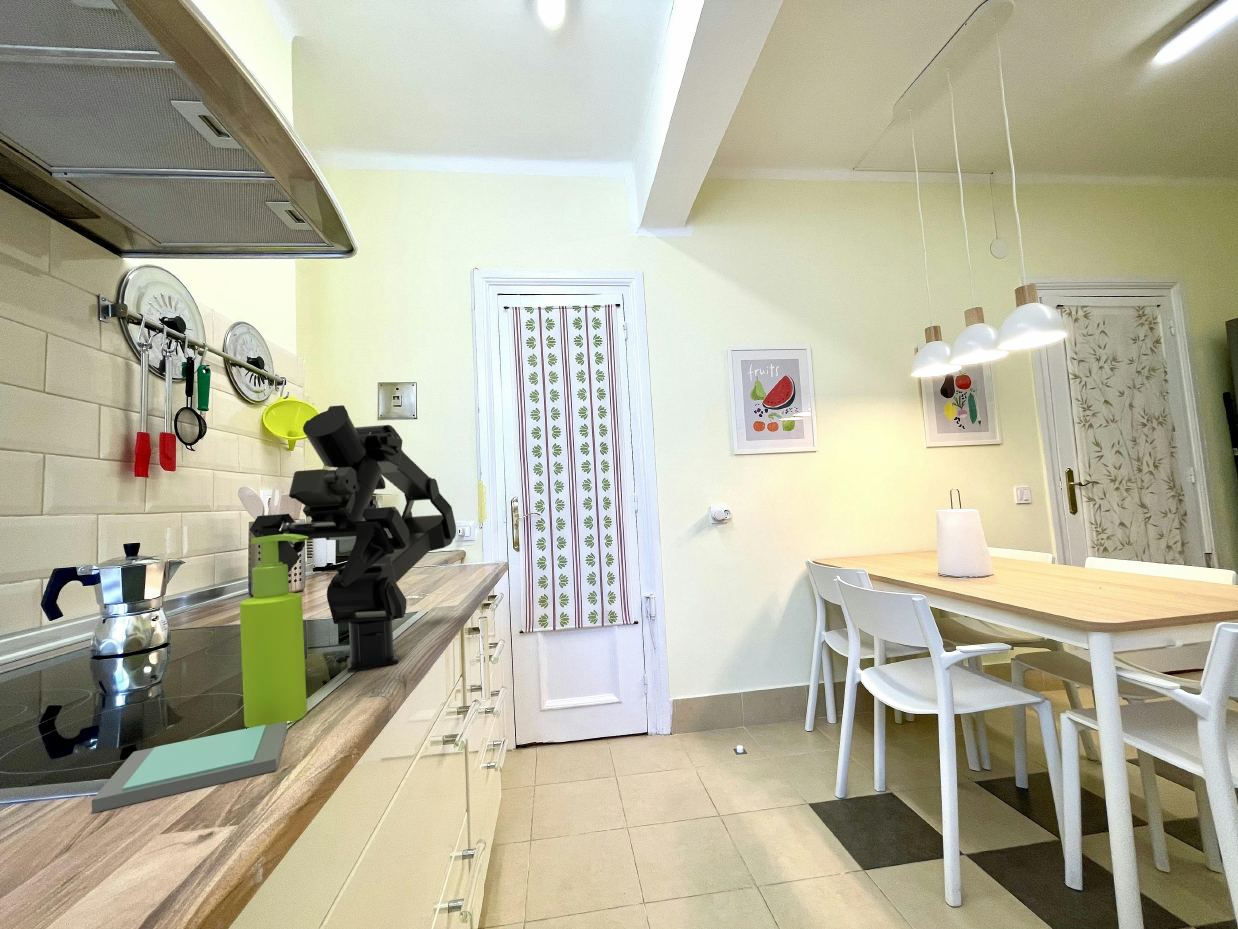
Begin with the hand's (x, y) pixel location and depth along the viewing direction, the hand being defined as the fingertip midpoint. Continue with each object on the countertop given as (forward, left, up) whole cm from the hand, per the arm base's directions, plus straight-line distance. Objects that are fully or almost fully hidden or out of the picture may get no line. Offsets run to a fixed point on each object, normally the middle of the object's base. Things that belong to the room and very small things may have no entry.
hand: (306, 586), depth 70 cm
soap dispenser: (+5, -3, -14) cm, 15 cm away
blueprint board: (+14, -8, -13) cm, 21 cm away
